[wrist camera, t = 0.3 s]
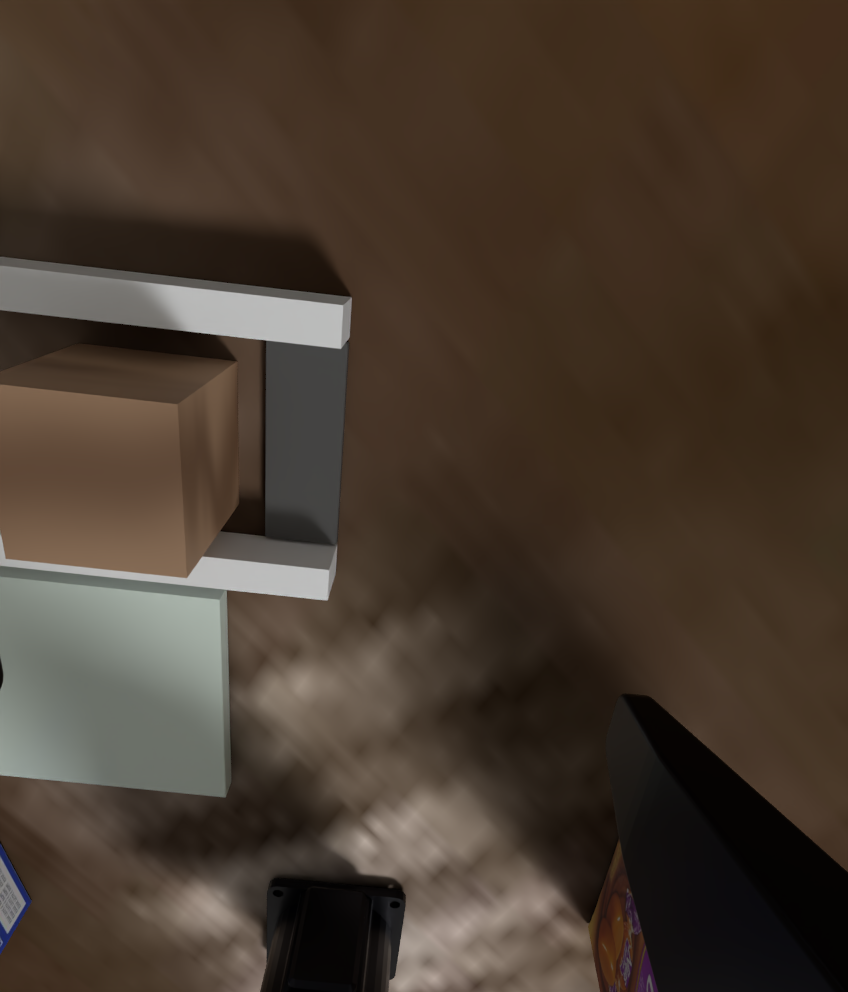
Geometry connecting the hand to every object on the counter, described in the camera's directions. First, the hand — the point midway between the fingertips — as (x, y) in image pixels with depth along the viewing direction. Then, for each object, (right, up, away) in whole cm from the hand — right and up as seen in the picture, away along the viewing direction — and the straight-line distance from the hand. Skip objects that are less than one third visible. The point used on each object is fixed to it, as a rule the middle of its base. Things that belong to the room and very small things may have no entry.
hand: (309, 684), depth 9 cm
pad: (-11, -5, +16) cm, 20 cm away
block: (-7, +5, +12) cm, 15 cm away
